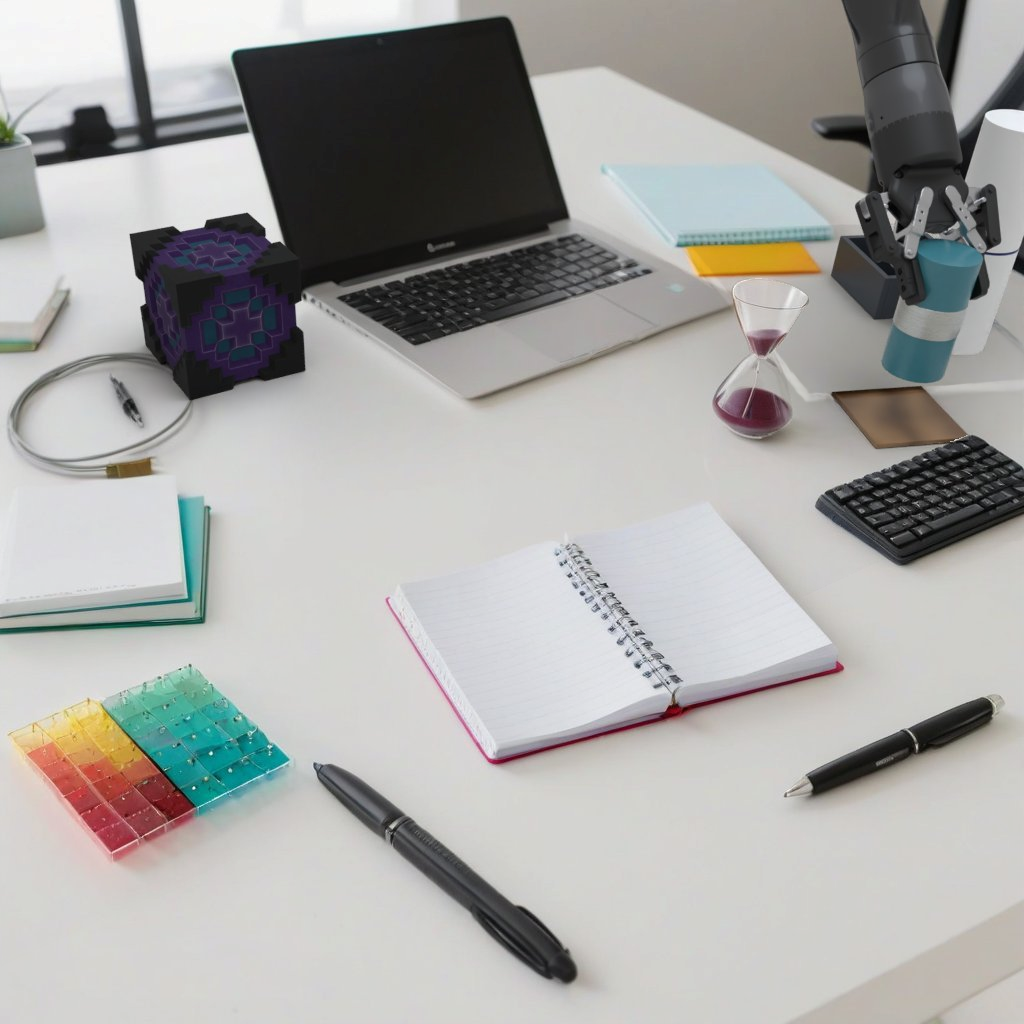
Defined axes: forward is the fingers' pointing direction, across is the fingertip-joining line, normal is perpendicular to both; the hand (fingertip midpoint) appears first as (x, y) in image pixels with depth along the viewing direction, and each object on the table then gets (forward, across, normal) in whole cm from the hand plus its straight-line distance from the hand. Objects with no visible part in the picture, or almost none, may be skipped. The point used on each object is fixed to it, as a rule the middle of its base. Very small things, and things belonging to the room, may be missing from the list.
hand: (947, 299), depth 105 cm
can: (+4, 0, +7) cm, 8 cm away
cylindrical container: (0, +14, +19) cm, 24 cm away
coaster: (+9, 0, +11) cm, 14 cm away
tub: (-8, +14, +27) cm, 31 cm away
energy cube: (-9, -63, +29) cm, 70 cm away
